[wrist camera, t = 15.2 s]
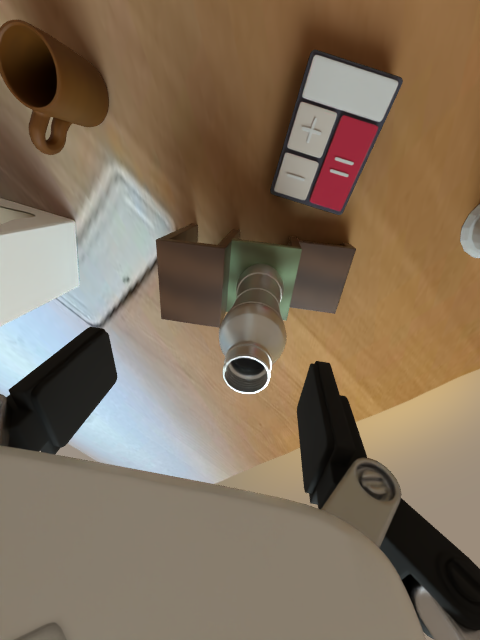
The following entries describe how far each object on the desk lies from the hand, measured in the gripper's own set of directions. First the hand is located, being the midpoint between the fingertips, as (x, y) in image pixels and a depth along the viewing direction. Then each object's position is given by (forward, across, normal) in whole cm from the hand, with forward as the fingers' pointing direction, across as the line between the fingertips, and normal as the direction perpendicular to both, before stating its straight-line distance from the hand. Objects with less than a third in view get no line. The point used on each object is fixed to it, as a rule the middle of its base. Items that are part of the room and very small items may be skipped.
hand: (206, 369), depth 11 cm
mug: (+35, +27, -14) cm, 46 cm away
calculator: (+35, -8, -13) cm, 38 cm away
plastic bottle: (+26, -2, +5) cm, 26 cm away
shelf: (+34, -2, +5) cm, 35 cm away
